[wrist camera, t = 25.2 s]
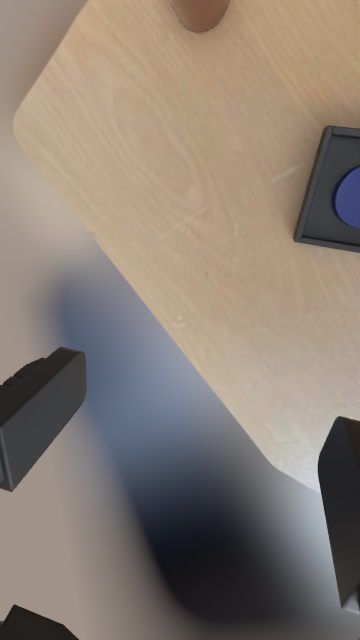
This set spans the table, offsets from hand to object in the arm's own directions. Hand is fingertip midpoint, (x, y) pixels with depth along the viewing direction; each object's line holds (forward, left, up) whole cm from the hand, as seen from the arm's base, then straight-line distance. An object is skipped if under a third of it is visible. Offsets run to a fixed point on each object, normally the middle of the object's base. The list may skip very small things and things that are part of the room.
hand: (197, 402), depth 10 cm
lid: (+10, +6, -28) cm, 30 cm away
